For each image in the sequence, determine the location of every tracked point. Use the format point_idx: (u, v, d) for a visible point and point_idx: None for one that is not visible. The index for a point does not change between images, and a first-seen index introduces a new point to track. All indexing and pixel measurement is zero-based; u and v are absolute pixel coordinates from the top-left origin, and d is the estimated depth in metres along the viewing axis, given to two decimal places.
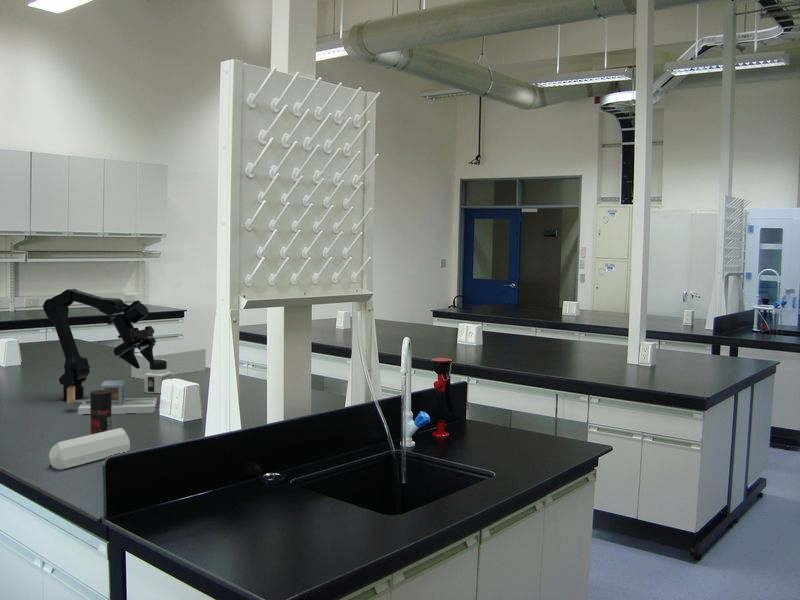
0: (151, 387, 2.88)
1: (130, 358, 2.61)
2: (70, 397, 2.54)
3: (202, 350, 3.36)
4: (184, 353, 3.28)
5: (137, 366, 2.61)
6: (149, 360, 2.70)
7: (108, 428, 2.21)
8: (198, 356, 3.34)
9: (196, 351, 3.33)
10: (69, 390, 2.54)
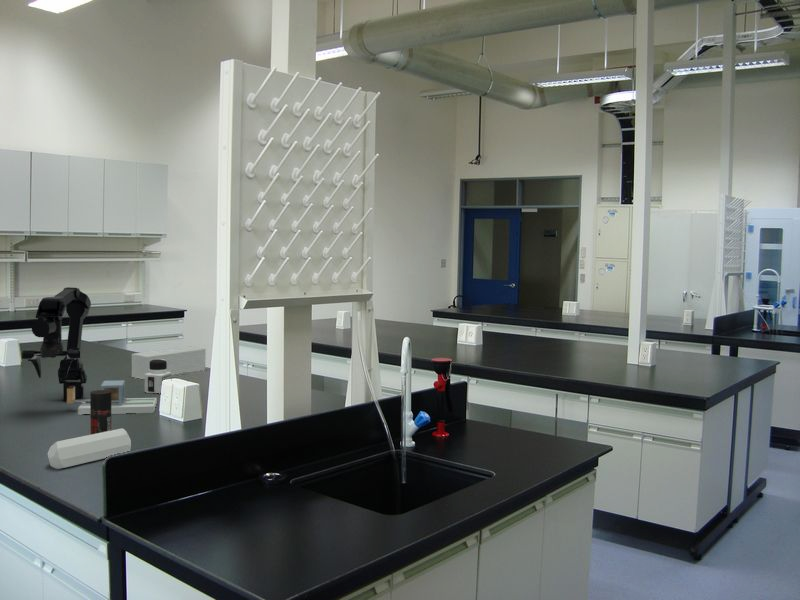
0: (151, 387, 2.88)
1: None
2: (70, 397, 2.54)
3: (202, 350, 3.36)
4: (184, 353, 3.28)
5: None
6: (65, 371, 2.56)
7: (108, 428, 2.21)
8: (198, 356, 3.35)
9: (196, 351, 3.34)
10: (69, 390, 2.54)
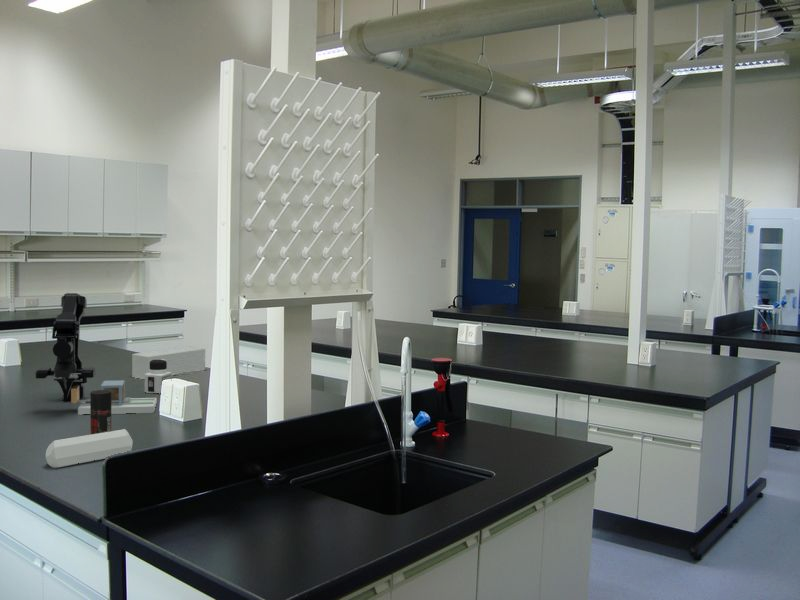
0: (151, 387, 2.88)
1: None
2: (74, 397, 2.55)
3: (202, 350, 3.37)
4: (184, 353, 3.28)
5: None
6: None
7: (108, 428, 2.21)
8: (198, 356, 3.35)
9: (196, 351, 3.34)
10: (73, 390, 2.54)
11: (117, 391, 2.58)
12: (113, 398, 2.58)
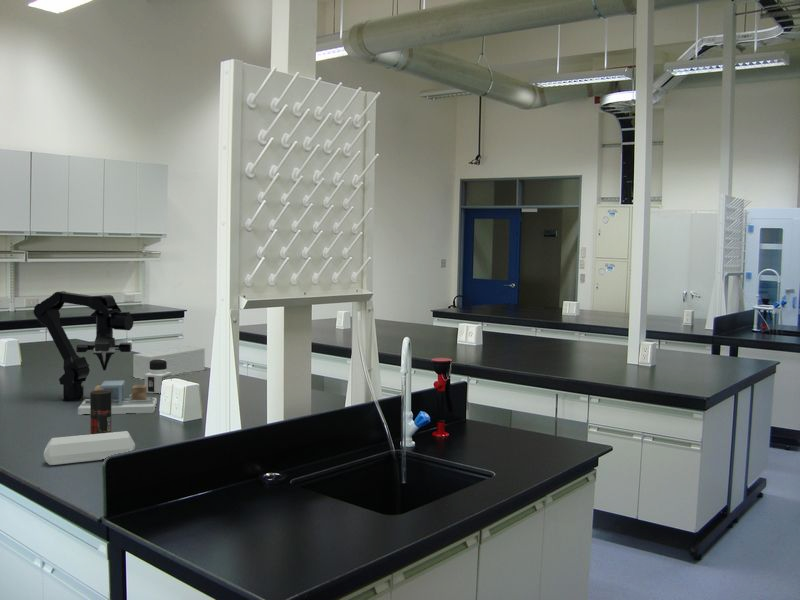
0: (151, 387, 2.88)
1: None
2: None
3: (201, 350, 3.37)
4: (185, 353, 3.29)
5: None
6: None
7: (108, 428, 2.21)
8: (198, 356, 3.36)
9: (196, 351, 3.34)
10: (97, 389, 2.56)
11: (140, 391, 2.60)
12: (136, 397, 2.60)
